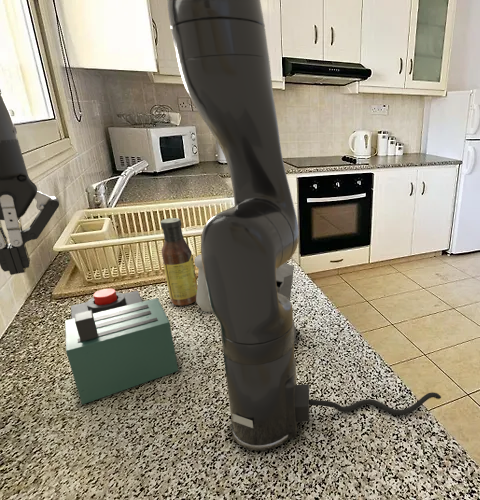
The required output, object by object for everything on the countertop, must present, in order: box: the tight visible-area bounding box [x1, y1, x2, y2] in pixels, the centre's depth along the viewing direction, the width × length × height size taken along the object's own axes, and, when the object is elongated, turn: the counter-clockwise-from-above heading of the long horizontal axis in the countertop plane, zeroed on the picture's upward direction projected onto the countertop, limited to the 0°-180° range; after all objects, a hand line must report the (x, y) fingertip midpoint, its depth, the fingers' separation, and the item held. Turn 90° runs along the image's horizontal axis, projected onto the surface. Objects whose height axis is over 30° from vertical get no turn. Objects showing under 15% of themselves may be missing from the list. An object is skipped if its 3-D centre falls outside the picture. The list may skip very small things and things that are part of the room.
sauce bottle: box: [160, 217, 198, 307], centre depth 85 cm, size 6×6×20 cm
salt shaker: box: [194, 253, 214, 313], centre depth 83 cm, size 6×6×13 cm
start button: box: [93, 288, 117, 305], centre depth 80 cm, size 4×4×2 cm
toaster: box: [64, 297, 179, 405], centre depth 63 cm, size 14×10×10 cm
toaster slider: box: [75, 310, 98, 342], centre depth 56 cm, size 2×3×4 cm
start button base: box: [70, 290, 143, 319], centre depth 81 cm, size 13×10×4 cm
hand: (18, 271), depth 50 cm, fingers closed
